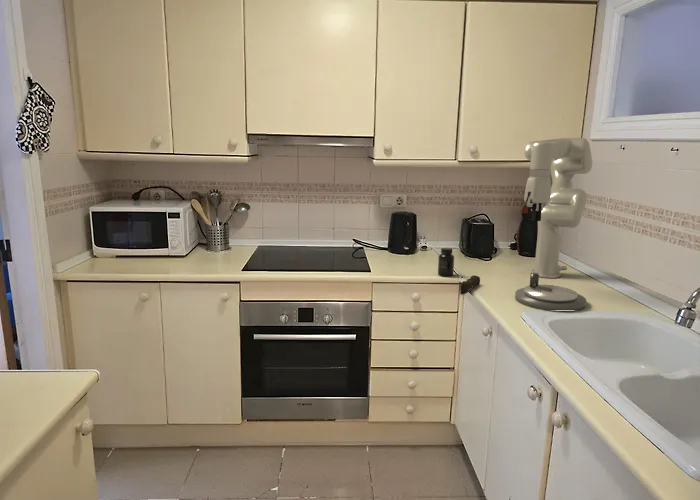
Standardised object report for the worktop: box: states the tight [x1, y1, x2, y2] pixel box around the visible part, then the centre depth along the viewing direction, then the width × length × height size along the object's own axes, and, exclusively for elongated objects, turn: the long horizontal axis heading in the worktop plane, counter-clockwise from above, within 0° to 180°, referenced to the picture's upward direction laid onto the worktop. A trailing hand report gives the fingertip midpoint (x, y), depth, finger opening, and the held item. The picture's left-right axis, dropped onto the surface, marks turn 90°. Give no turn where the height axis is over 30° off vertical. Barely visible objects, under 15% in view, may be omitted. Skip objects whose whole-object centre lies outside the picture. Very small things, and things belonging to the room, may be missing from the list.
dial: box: [523, 272, 579, 303], centre depth 173 cm, size 18×18×6 cm
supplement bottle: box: [437, 247, 455, 278], centre depth 210 cm, size 7×7×12 cm
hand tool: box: [459, 275, 481, 296], centre depth 189 cm, size 19×4×5 cm, turn 147°
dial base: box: [514, 287, 587, 311], centre depth 174 cm, size 24×24×2 cm
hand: (536, 220), depth 189 cm, fingers closed
